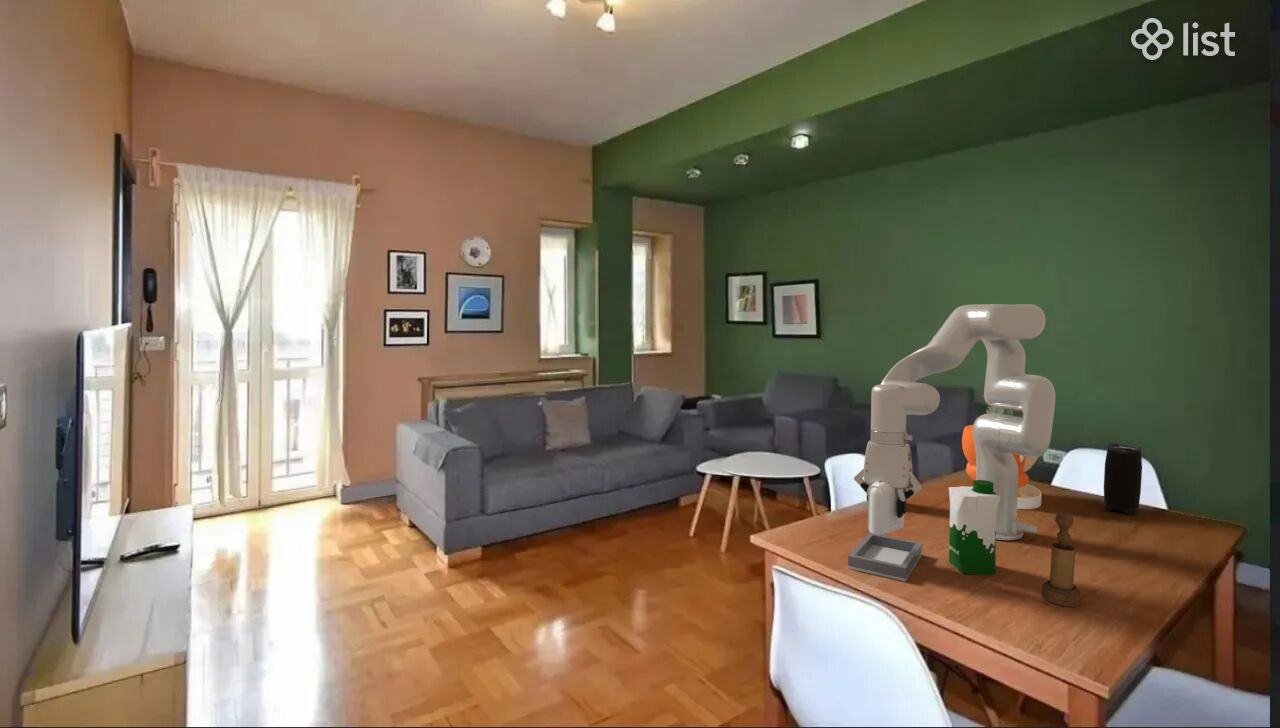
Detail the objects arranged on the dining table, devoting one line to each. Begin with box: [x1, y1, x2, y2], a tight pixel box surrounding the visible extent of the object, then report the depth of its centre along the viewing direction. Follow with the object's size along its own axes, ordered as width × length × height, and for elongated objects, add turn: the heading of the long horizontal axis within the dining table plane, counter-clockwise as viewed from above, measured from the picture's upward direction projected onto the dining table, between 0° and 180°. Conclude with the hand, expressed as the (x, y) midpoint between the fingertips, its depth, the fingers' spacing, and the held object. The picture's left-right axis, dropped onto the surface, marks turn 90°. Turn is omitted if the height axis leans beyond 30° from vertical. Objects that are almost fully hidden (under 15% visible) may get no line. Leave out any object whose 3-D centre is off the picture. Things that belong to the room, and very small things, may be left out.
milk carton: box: [948, 480, 1000, 575], centre depth 138 cm, size 9×9×20 cm
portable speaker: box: [1103, 442, 1143, 515], centre depth 174 cm, size 8×9×19 cm
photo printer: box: [867, 481, 905, 535], centre depth 142 cm, size 10×4×12 cm, turn 125°
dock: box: [847, 532, 923, 582], centre depth 143 cm, size 12×17×3 cm
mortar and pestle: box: [1041, 511, 1082, 608], centre depth 122 cm, size 7×6×18 cm
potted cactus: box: [961, 394, 1043, 510], centre depth 187 cm, size 22×22×35 cm
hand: (886, 513), depth 142 cm, fingers closed on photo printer, 5 cm apart
